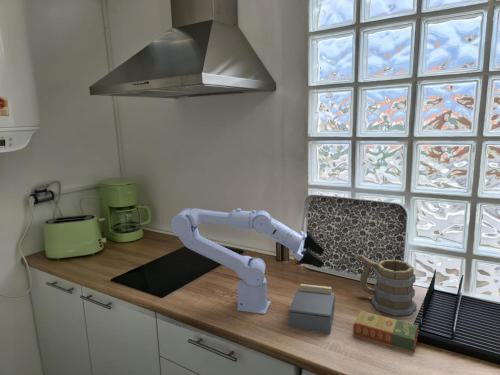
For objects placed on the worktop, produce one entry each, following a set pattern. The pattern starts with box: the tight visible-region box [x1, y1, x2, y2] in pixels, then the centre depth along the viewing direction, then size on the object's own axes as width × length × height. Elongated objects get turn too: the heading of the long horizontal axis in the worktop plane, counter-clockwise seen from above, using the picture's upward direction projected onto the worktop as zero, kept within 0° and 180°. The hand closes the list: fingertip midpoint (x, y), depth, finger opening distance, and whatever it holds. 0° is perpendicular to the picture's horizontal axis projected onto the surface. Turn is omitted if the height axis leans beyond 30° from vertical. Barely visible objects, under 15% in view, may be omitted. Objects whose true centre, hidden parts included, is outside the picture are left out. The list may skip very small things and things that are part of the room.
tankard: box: [354, 253, 417, 317], centre depth 118 cm, size 20×13×15 cm, turn 45°
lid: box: [288, 283, 336, 317], centre depth 110 cm, size 12×14×2 cm
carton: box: [352, 310, 419, 353], centre depth 100 cm, size 8×16×4 cm, turn 58°
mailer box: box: [288, 295, 336, 335], centre depth 110 cm, size 12×14×5 cm
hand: (322, 258), depth 113 cm, fingers open, 7 cm apart
